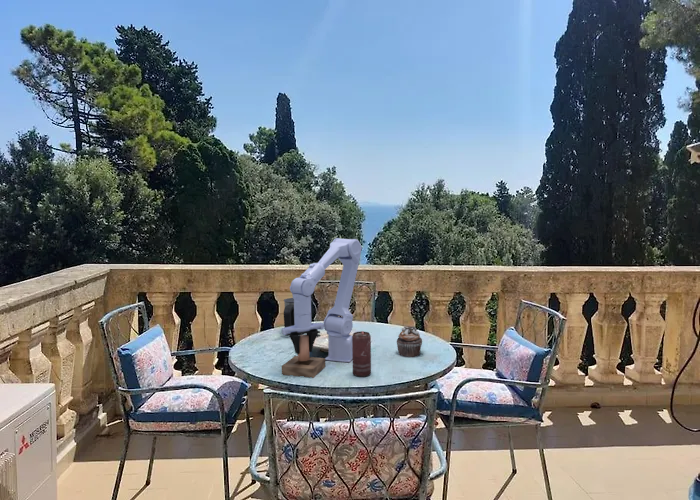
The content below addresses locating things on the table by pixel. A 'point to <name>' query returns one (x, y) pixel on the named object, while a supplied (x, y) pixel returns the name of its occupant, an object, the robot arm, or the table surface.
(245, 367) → the table surface
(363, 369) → the can
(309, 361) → the socket block
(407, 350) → the cupcake
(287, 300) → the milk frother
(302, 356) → the peg
